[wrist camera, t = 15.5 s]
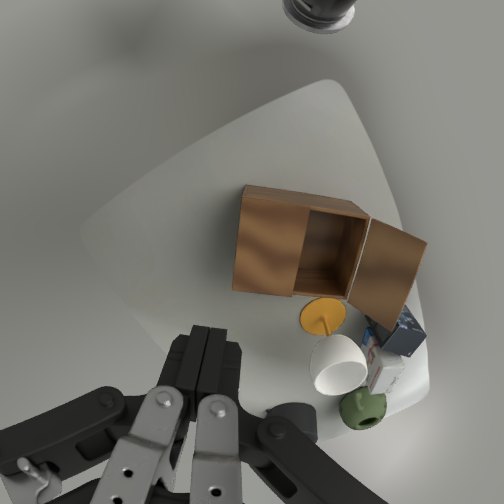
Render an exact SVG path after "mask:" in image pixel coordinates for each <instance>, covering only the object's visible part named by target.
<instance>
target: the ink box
mask: <svg viewBox="0 0 504 504" xmlns="http://www.w3.org/2000/svg"><path fill="white" fill-rule="evenodd" d="M360 349H361V351H362V353H363V354H364V356H365V359H366V364H367V371H368V374H367V376H366V378H365V379H366V383H367V386H368V389H369V392H370V395H373V394H381V393H389V392H391V391H392V390H393V388H394V386H395V384H396V382H397V381H398V379H399V377H400V375H401V373H402V371H403V369H404V362H403V360H402V358H401V356H400V355H399V354H396V353H392V352H388V351H384V350H381V349H380V346H379V344H378V342H377V340H376V338H375V336H374V334H373V331H372V329H371V328H367V329H366V332H365V335H364V338H363V342H362V345H361V348H360Z"/></svg>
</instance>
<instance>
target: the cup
mask: <svg viewBox="0 0 504 504" xmlns="http://www.w3.org/2000/svg"><path fill="white" fill-rule="evenodd" d="M345 316H346V310H345V306H344V305H343V304H342V303H341V301H340V300H337V299H334V298H323V297H322V298H319V299H316V300H313V301H312V302H310V303H309V304H308V305H306V306H305V308H304V309H303V311H302V312H301V318H300V322H301V325H302V327H303V328H304V329H305V330H306V331H307V332H309V333H312V334H315V335H324V334H326V335H327V337H325V338H323V339H322V340H320V341H319V342H318V344H317V345H316V346H315V348H314V350H313V353H312V357H311V363H310V376H311V378H312V381H313V384H314V386H315V389H316V390H317V391H318V392H320V393H321V394H325V395H330V396H331V395H341V394H344V393H347V392H350V391H352V390H354V389H355V388H357V387H358V386H359V385H361V384H362V383H363V381H364V380H365V378H366V376H367V374H368V371H367V364H366V359H365V356H364V354H363V353H362V351H361V349H360V348H359V347H358V346H357V345H356V344H355V343H354V342H353V341H352V340H351V339H350V338H348V337H346V336H343V335H341V334H337V335H331V332H333V331H334V330H336V329H337V328H339V327H340V326H341V324H342V323H343V322H344V320H345Z"/></svg>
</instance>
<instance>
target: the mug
mask: <svg viewBox="0 0 504 504" xmlns="http://www.w3.org/2000/svg"><path fill="white" fill-rule="evenodd" d="M386 407H387V402H386V396H385V394H384V393H381V394H373V395H370V392H369V389H368V387H363V388H360V389H357V390H355V391H353V392H351V393H349V394H348V395H347V396H346V397H345V398H344V399H343V400H342V401H341V403H340V405H339V412H340V416H341V418H342V420H343V422H344V423H345V424H346V425H347V426H348V427H350V428H351V429H354V430H364V429H368V428H371V427H373V426H375V425H376V424H378V423H379V422H380V421H381V420H382V419H383V417H384V416H385V413H386Z"/></svg>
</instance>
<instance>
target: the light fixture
mask: <svg viewBox="0 0 504 504" xmlns="http://www.w3.org/2000/svg"><path fill="white" fill-rule="evenodd" d="M266 412H267V417H269V416H282V417H285V418H287V419H289V420H290V421H291V422H292V423H293V424H294V425H296V426H297V427H298V428H299V429H300V430H301V431H302V432H303V433H304V434H305V435H306V436H307V437H308V438H309V439H310V440H311V441H313V442H314V443H316V442H317V440H318V435H317V421H316V410H315V409H314V408H313V407H312V406H311V405H308V404H305V403H286V404H282V405H279V406H276V407H274V408H272V409H271V410H266Z"/></svg>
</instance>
